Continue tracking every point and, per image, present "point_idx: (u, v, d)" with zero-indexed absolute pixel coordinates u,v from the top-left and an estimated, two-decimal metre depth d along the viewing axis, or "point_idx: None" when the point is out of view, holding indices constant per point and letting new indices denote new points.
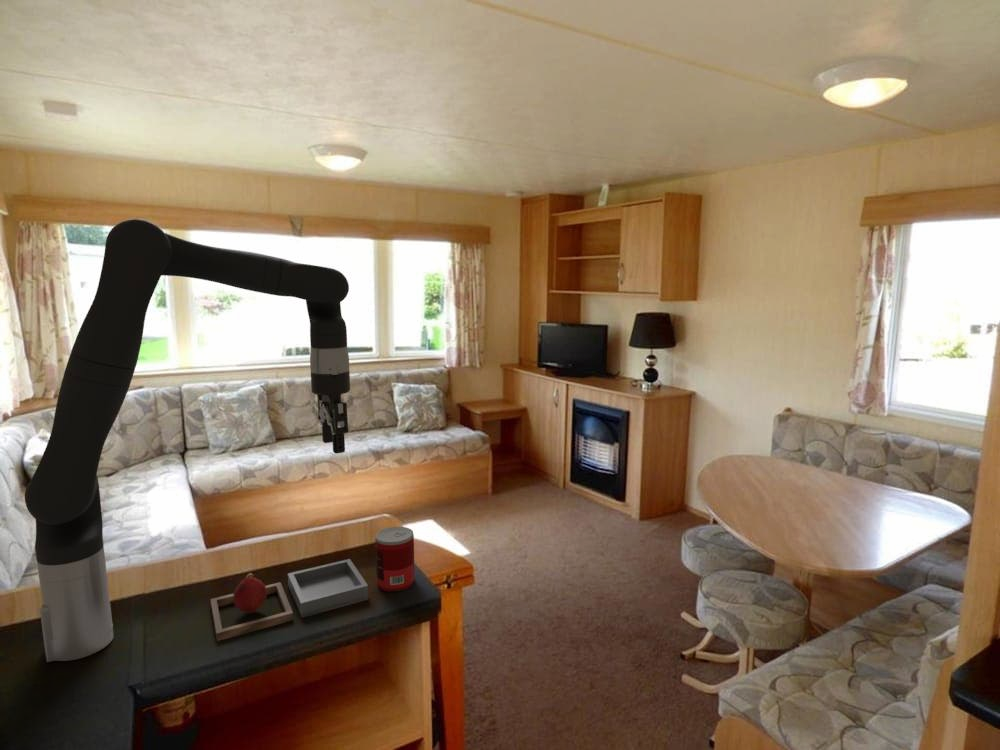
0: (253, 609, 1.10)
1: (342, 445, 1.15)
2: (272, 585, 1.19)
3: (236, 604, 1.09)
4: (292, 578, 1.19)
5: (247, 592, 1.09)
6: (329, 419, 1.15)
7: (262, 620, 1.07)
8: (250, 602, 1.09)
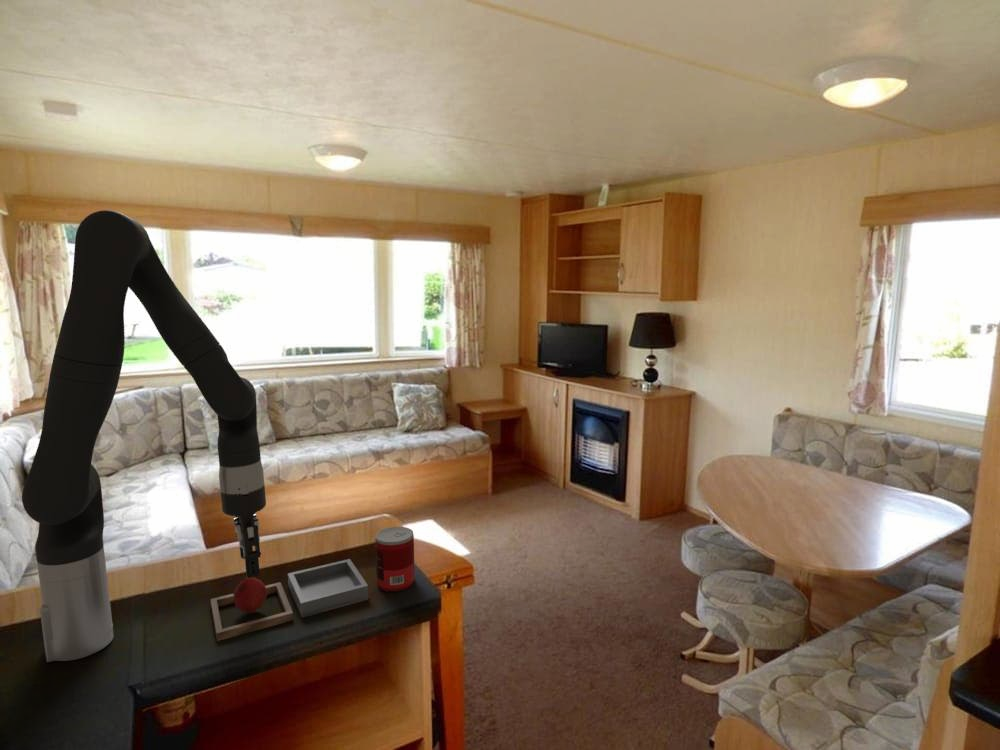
0: (253, 609, 1.10)
1: (256, 569, 1.06)
2: (272, 585, 1.19)
3: (236, 604, 1.09)
4: (292, 578, 1.19)
5: (247, 592, 1.09)
6: (241, 541, 1.06)
7: (262, 620, 1.07)
8: (250, 602, 1.09)
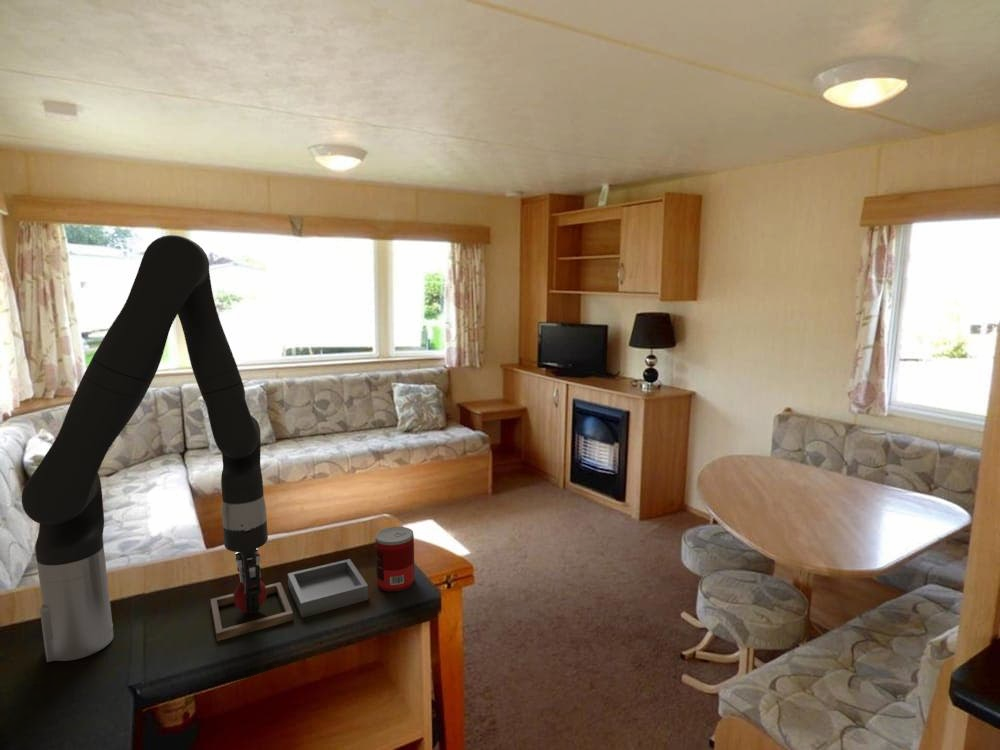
0: None
1: (256, 605, 1.08)
2: (272, 585, 1.19)
3: (236, 604, 1.09)
4: (292, 578, 1.19)
5: None
6: (242, 578, 1.07)
7: (262, 620, 1.07)
8: None
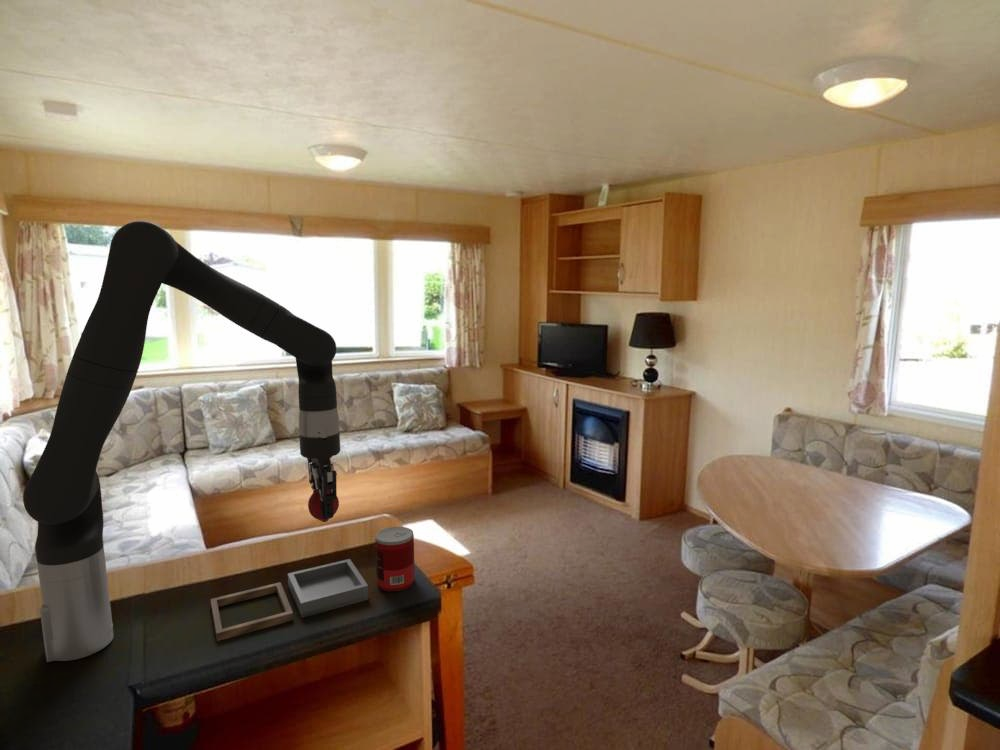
0: None
1: (330, 511, 1.13)
2: (272, 585, 1.19)
3: (311, 511, 1.14)
4: (292, 578, 1.19)
5: None
6: (318, 485, 1.12)
7: (262, 620, 1.07)
8: None
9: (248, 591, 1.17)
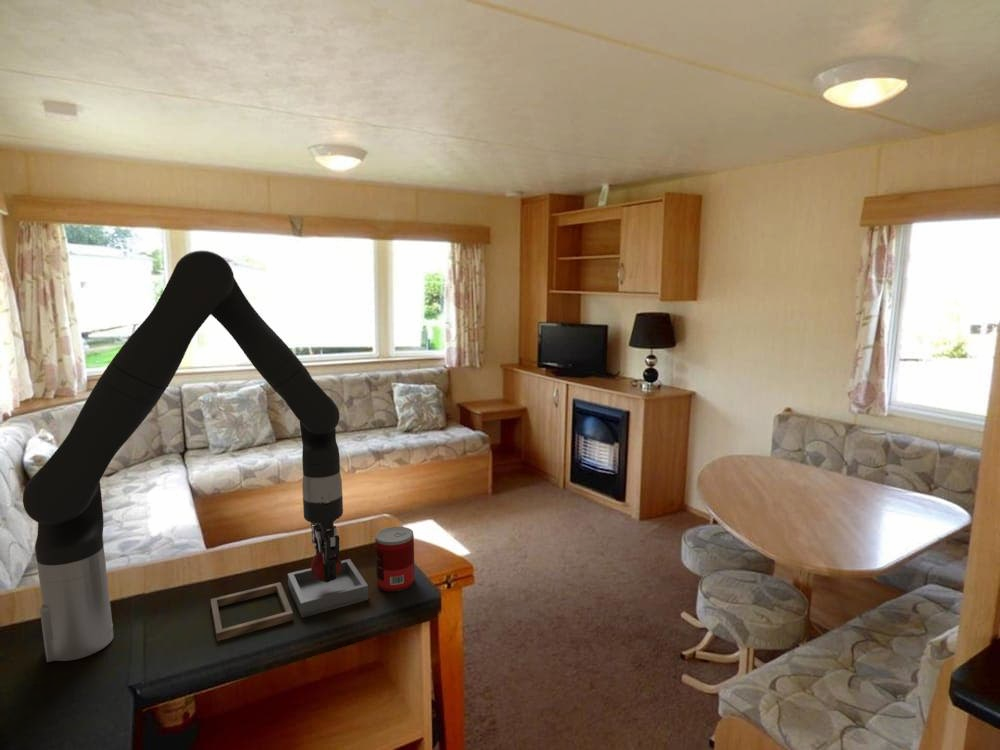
0: None
1: (333, 573, 1.15)
2: (272, 585, 1.19)
3: (314, 573, 1.16)
4: (292, 578, 1.19)
5: None
6: (321, 548, 1.14)
7: (262, 620, 1.07)
8: None
9: (248, 591, 1.17)
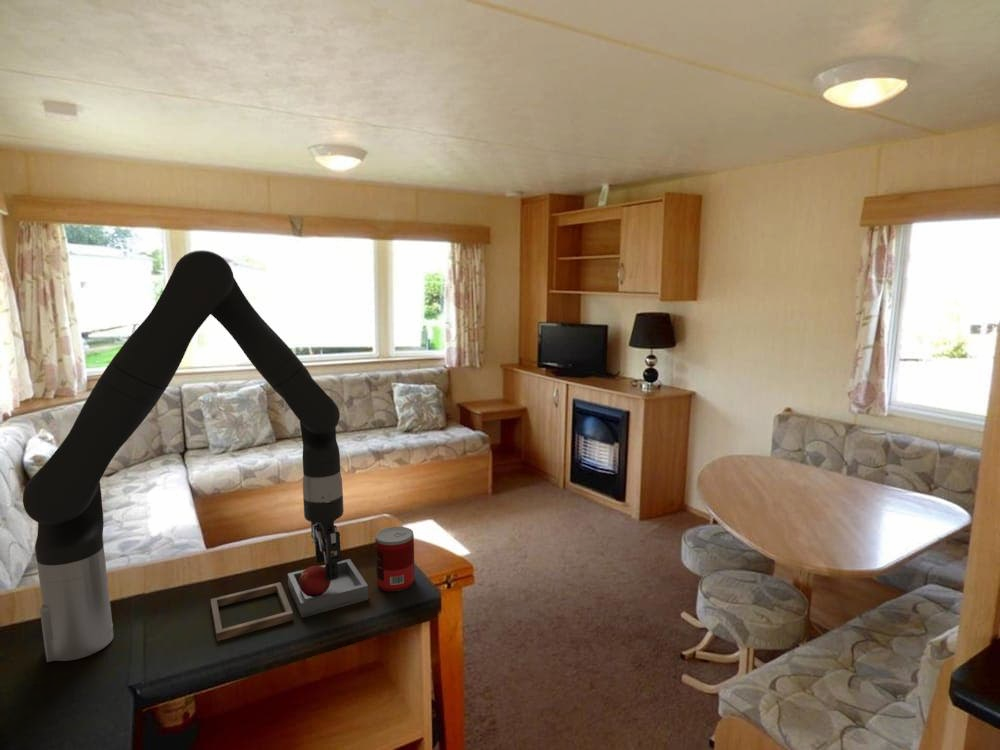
0: (324, 591, 1.16)
1: (335, 572, 1.14)
2: (272, 585, 1.19)
3: None
4: (292, 578, 1.19)
5: (309, 590, 1.13)
6: (322, 547, 1.14)
7: (262, 620, 1.07)
8: (317, 594, 1.14)
9: (248, 591, 1.17)
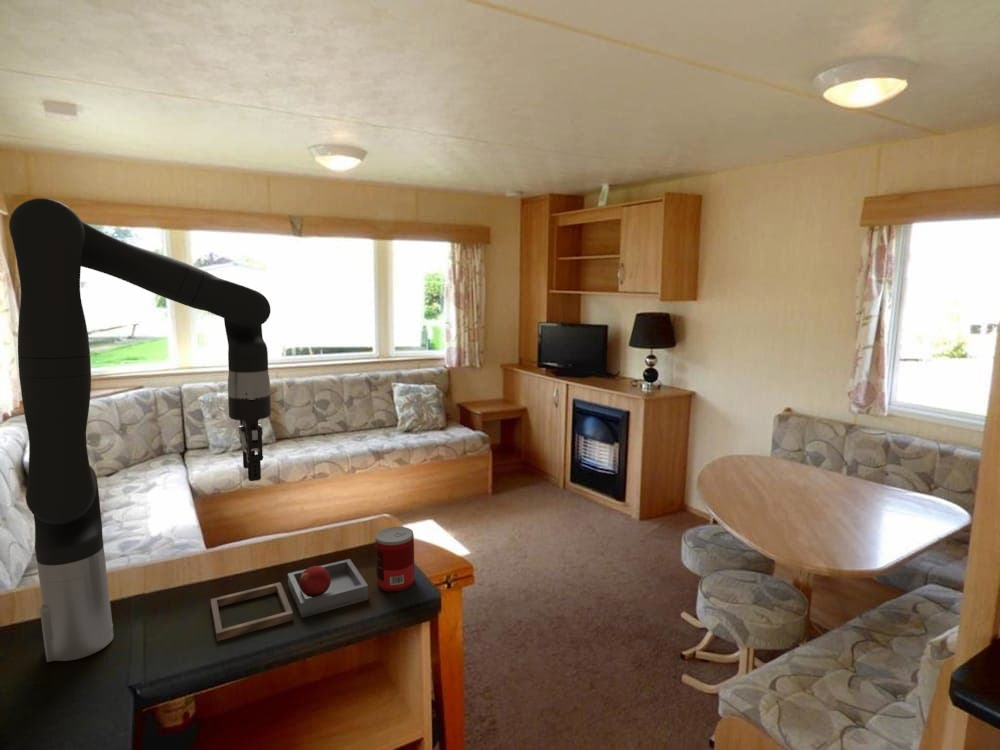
0: (324, 592, 1.16)
1: (257, 473, 1.11)
2: (272, 585, 1.19)
3: None
4: (292, 578, 1.19)
5: (310, 590, 1.13)
6: (244, 445, 1.11)
7: (262, 620, 1.07)
8: (317, 594, 1.14)
9: (248, 591, 1.17)
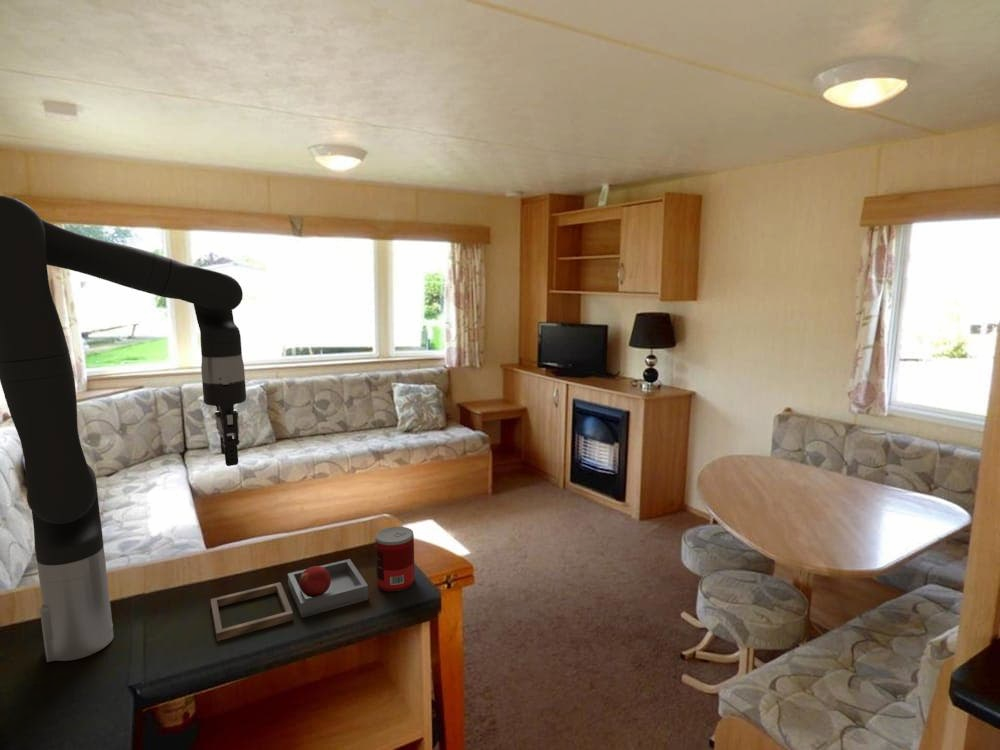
0: None
1: (234, 457, 1.11)
2: (272, 585, 1.19)
3: None
4: (292, 578, 1.19)
5: (310, 590, 1.13)
6: (220, 430, 1.11)
7: (262, 620, 1.07)
8: (317, 594, 1.14)
9: (248, 591, 1.17)
